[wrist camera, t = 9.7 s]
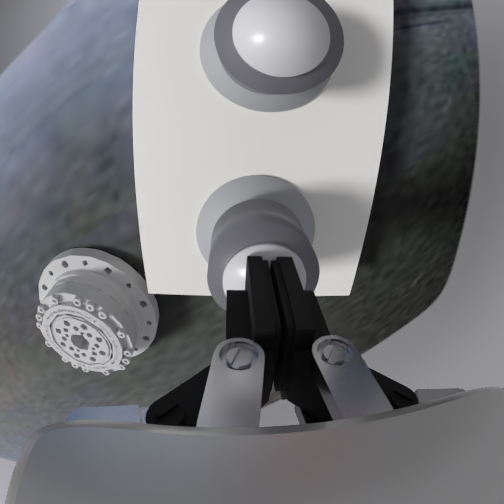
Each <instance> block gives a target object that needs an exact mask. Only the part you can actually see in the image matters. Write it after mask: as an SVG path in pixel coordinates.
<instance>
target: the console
mask: <svg viewBox="0 0 504 504" xmlns="http://www.w3.org/2000/svg"><path fill="white" fill-rule="evenodd" d="M227 1H228V0H139V7H138V16H137V26H136V38H135V52H134V72H133V150H134V171H135V186H136V199H137V210H138V220H139V230H140V239H141V247H142V254H143V262H144V269H145V276H146V282H147V288H148V293H150V294H174V295H208V296H212V295H211V293H210V290H209V287H208V282H207V271H208V262H209V253H210V245H211V237H212V232H213V229H214V226H215V224H216V222H217V221H218V219H219V218H220V217H221V215H222V214H223V213H224V212H225V211H227V210H228V209H229V208H230V207H232V206H234V205H236V204H238V203H240V202H243V201H246V200H251V199H268V200H272V201H276V202H278V203H281V204H282V205H284V206H286V207H287V208H289V209H290V210H291V211H292V212H293V213H294V214H295V215H296V217H297V218H298V220H299V221H300V223H301V225H302V227H303V229H304V231H305V233H306V235H307V237H308V239H309V241H310V243H311V245H312V247H313V249H314V251H315V253H316V256H317V259H318V262H319V270H320V274H319V280H318V283H317V286H316V289H315V291H314V293H315V296H339V295H350V291H351V288H352V284H353V281H354V277H355V274H356V270H357V266H358V262H359V258H360V254H361V251H362V246H363V242H364V238H365V234H366V230H367V225H368V221H369V216H370V212H371V207H372V202H373V197H374V192H375V187H376V182H377V176H378V171H379V165H380V159H381V153H382V146H383V140H384V133H385V125H386V117H387V109H388V100H389V90H390V79H391V66H392V49H393V0H325V1H326V2H327V3H328V4H329V5H330V6H331V8H332V9H333V10H334V12H335V13H336V15H337V17H338V19H339V21H340V23H341V26H342V29H343V35H344V49H343V54H342V57H341V60H340V62H339V64H338V66H337V68H336V69H335V71H334V72H333V73H332V74H331V75H330V77H328V78H327V79H326V80H325V81H324V82H322V83H321V84H319V85H318V86H316V87H314V88H312V89H310V90H307V91H304V92H299V93H295V94H281V95H265V94H259V93H255V92H252V91H249V90H247V89H245V88H243V87H241V86H240V85H238V84H237V83H235V82H234V81H233V80H232V79H231V78H230V77H229V76H228V75H227V73H226V72H225V70H224V69H223V67H222V65H221V62H220V59H219V56H218V53H217V50H216V47H215V41H214V27H215V22H216V19H217V16H218V14H219V12H220V10H221V8H222V7H223V6H224V4H225V3H226V2H227Z"/></svg>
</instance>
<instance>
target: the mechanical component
mask: <svg viewBox="0 0 504 504" xmlns="http://www.w3.org/2000/svg"><path fill="white" fill-rule="evenodd" d="M39 299H40V302H41V304H40V305H39V307H38V312H37V314H36V318H37V319H38V322H37V324H36V325H37V327H38V328H39V329H40V330H41V332H42V334H43V335H44V337H45V338H46V342H45V343H46V345H47V346H49V347H51V346H52V347H53V348H54V350H55V351H57V352H58V353H59V354H60V355H61V356H62V360H63V361H64V362H68V361H70V362H71V363H72V366H73V367H75V368H78V367H79V366H80V367H82V370H83V371H84V372H89V370H91V371H98V372H103V374H105V375H109V374H110V372H113V371H117V370H120V369H121V370H124V369H125V367H126V365H128V364H129V363H130V361H131V358H132V357H133V356H135V355H138V354H140V353H142V352H143V351H145V350H146V349H147V348H148V347H149V346H150V344H151V343H152V341H153V340H154V338H155V335H156V331H157V327H158V321H159V310H158V304H157V300H156V298H155V296H154V294H150V293H148V288H147V283H146V281H145V280H144V279H143V277H142V276H141V275H140V274H139V273H138V272H137V271H136V270H134V269H133V268H132V267H131V266H130V265H128V264H127V263H126V262H124V261H123V260H121V259H120V258H118V257H115V256H113V255H111V254H109V253H106V252H104V251H102V250H97V249H91V248H72V249H69V250H67V251H64V252H62V253H60V254H59V255H58V256H56V257H55V258H54V259H53V260H52V261H51V262H50V263H49V264H48V266H47V267H46V268H45V269H44V271H43V273H42V276H41V279H40V281H39Z"/></svg>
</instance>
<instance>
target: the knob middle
mask: <svg viewBox="0 0 504 504" xmlns="http://www.w3.org/2000/svg"><path fill="white" fill-rule="evenodd" d="M214 41H215V47H216V50H217V53H218V56H219V59H220V62H221V65H222V67H223V69H224V70H225V72H226V73H227V75H228V76H229V77H230V78H231V79H232V80H233V81H234V82H235V83H237V84H238V85H240V86H241V87H243V88H245V89H247V90H249V91H252V92H255V93H259V94H265V95H281V94H295V93H299V92H304V91H307V90H310V89H312V88H314V87H316V86H318V85H319V84H321V83H322V82H324V81H325V80H326V79H327V78H328V77H330V75H331V74H332V73H333V72H334V71H335V69H336V68H337V66H338V64H339V62H340V60H341V57H342V54H343V49H344V35H343V29H342V26H341V23H340V21H339V19H338V17H337V15H336V13H335V12H334V10H333V9H332V8H331V6H330V5H329V4H328V3H327V2H326V1H325V0H228V1H227V2H226V3H225V4H224V6H223V7H222V8H221V10H220V12H219V14H218V16H217V19H216V22H215V27H214Z"/></svg>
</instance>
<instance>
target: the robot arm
mask: <svg viewBox="0 0 504 504" xmlns="http://www.w3.org/2000/svg"><path fill="white" fill-rule="evenodd" d="M273 381H274V388H275V391H280V392H281V399H282V400H283V399H287V400H288V401H290V402H291V403H293V404H295V413H296V415H297V418H298V420H299V423H300V425H289V426H273V427H259V421H260V411H261V407H262V406H263V405H265V404H266V403H267V402H268V400H269V395H270V391H271V390H272V384H273ZM5 504H504V388H499V387H488V388H487V387H486V388H478V389H472V390H467V391H465V390H463V389H459V388H454V389H453V388H452V389H417V390H416V391H415V392H413V391H412V390H411V389H409V388H407V387H406V386H404V385H402V384H400V383H398V382H396V381H394V380H392V379H390V378H388V377H386V376H384V375H382V374H380V373H378V372H376V371H374V370H372V369H370V368H368V366H367V365H366V363H365V361H364V360H363V358H362V357H361V355H360V353H359V352H358V350H357V349H356V347H355V346H354V345H353V344H352V343H351V342H350V341H349V340H347V339H345V338H343V337H340V336H335V335H330V333H329V330H328V328H327V325H326V322H325V320H324V317H323V314H322V312H321V309H320V306H319V304H318V301H317V299H316V296H315V293H314V292H313V291H312V290H303V287H302V284H301V281H300V278H299V275H298V272H297V269H296V267H295V264H294V261H293V258H292V257H277V258H276V260H272V261H271V266H270V269H269V265H268V260H263V259H262V256H247V262H246V280H245V290H227V297H226V340H225V341H223V342H221V343H220V344H219V345H218V346H217V347H216V349H215V351H214V354H213V358H212V362H211V365H209V366H208V367H206V368H205V369H203V370H202V371H201V372H199V373H198V374H196V375H195V376H193V377H192V378H190V379H189V380H187V381H186V382H184V383H183V384H181V385H180V386H178V387H177V388H175V389H174V390H172V391H171V392H169V393H168V394H166V395H164V396H163V397H161V398H160V399H158V400H157V401H155V402H154V403H153V404H152V405H151V406H150V407H143V408H140V407H139V405H129V406H113V407H86V408H78V409H75V410H73V411H71V412H70V413H69V414H68V415H67V417H66V418H65V421H64V422H59V423H54V424H51V425H48V426H45V427H42V428H41V429H39V430H37V431H36V432H35V433H34V434H33V435H32V436H31V437H30V438H29V439H28V441H27V442H26V444H25V446H24V447H23V449H22V452H21V454H20V456H19V458H18V460H17V463H16V466H15V469H14V471H13V474H12V478H11V481H10V485H9V488H8V492H7V496H6V500H5Z"/></svg>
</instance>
